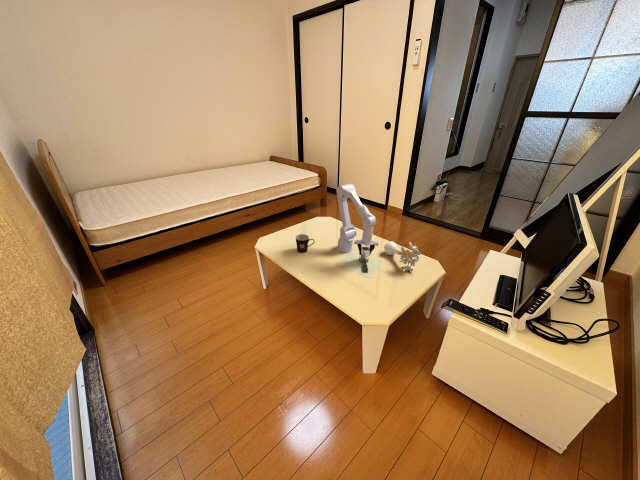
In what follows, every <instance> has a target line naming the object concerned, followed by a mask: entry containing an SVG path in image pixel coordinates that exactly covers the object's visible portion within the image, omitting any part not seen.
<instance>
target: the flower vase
mask: <svg viewBox="0 0 640 480" xmlns="http://www.w3.org/2000/svg"><path fill="white" fill-rule="evenodd" d="M407 244H408V246H409V249H406V250H405V248H404V247H402V246H401V247H400V248H399V247H398V244H397V243H396V242H395V241H392V240H391V241H388V242H386V243H385V244H384V246H383V250H384V251H383V252H384V253H385V255H387V256H395V254H396V255H399V256H400V260H399V261H398V262H399V263H403V265H402V266H403V268H402V269H405V270H406V271H408V270H411V268H412V267H415V266H416V262H419V261H420V257H419V256H420V255H421V251H419V247H418V246H416V245H413V243H412V242H411V241H409V242H408V243H407ZM411 250H412V251H411ZM406 264H407V265H406Z"/></svg>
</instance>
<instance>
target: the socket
mask: <svg viewBox="0 0 640 480" xmlns="http://www.w3.org/2000/svg"><path fill="white" fill-rule="evenodd" d="M369 248H370V246H365V245H362V248H361V255H360V259H370V256H369V254H370V249H369ZM370 255H371V254H370Z"/></svg>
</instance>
